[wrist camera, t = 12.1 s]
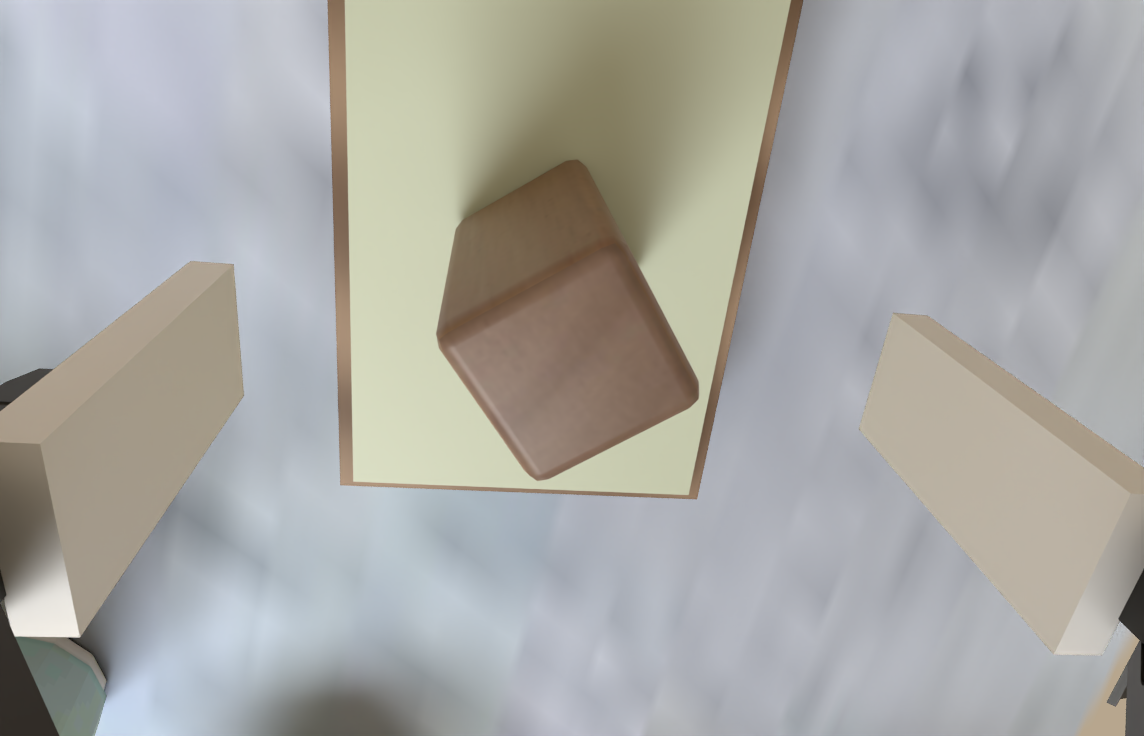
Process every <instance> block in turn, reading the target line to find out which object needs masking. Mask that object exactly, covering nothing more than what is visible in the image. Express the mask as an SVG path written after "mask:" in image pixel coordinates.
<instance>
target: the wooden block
mask: <svg viewBox="0 0 1144 736" xmlns="http://www.w3.org/2000/svg"><path fill="white" fill-rule="evenodd" d="M436 336H437V341H438V346H439V349H440V351H441V352H442V354H443V355H444V356H445V358H446V359H447V361H448V362H449V364H450V365H451V366H452V368H453V369H454V371H455V372H456V374H457V375H458V376H459V378H460V379H461V381H462V382H463V384H464V385H465V386H466V388H467V389H468V391H469V392H470V394H471V395H472V396H473V398H474V399H475V401H476V402H477V404H478V405H479V407H480V408H481V409H482V411H483V412H484V414H485V415H486V417H487V418H488V419H489V421H490V422H491V424H492V425H493V427H494V428H495V429H496V431H497V432H498V434H499V435H500V437H501V438H502V439H503V441H504V442H505V444H506V445H507V447H508V448H509V449H510V451H511V452H512V454H513V455H514V457H515V458H516V460H517V461H518V462H519V464H520V465H521V467H522V468H523V470H524V471H525V472H526V473H527V474H528V475H529V476H531V477H532V478H534V479H535V480H536V481H541V480H547V479H550V478H552V477H554V476H556V475H558V474H560V473H562V472H564V471H566V470H568V469H570V468H572V467H574V466H576V465H578V464H580V463H582V462H584V461H586V460H588V459H590V458H592V457H594V456H596V455H598V454H600V453H602V452H604V451H605V450H607V449H609V448H611V447H613V446H615V445H617V444H619V443H621V442H623V441H625V440H627V439H629V438H631V437H633V436H635V435H637V434H639V433H641V432H643V431H645V430H647V429H649V428H651V427H653V426H655V425H657V424H659V423H661V422H663V421H665V420H667V419H669V418H671V417H673V416H675V415H677V414H679V413H681V412H683V411H685V410H687V409H689V408H690V407H691V406H692V405H693V404H694V403H695V402H696V401H697V400H698V399H699V381H698V379H697V377H696V375H695V373H694V371H693V369H692V367H691V365H690V363H689V361H688V359H687V358H686V356H685V354H684V352H683V350H682V348H681V346H680V344H679V342H678V340H677V338H676V336H675V334H674V333H673V331H672V329H671V327H670V325H669V323H668V321H667V319H666V317H665V315H664V313H663V311H662V309H661V308H660V306H659V304H658V302H657V300H656V298H655V296H654V294H653V292H652V290H651V288H650V286H649V284H648V283H647V281H646V279H645V277H644V275H643V273H642V271H641V269H640V267H639V265H638V263H637V261H636V260H635V258H634V256H633V254H632V252H631V250H630V248H629V246H628V244H627V243H626V241H625V239H624V237H623V235H622V233H621V231H620V229H619V227H618V225H617V224H616V222H615V220H614V218H613V216H612V214H611V212H610V210H609V208H608V207H607V205H606V203H605V201H604V199H603V197H602V195H601V193H600V191H599V189H598V188H597V186H596V184H595V182H594V180H593V178H592V176H591V174H590V172H589V171H588V169H587V167H586V166H585V165H584V164H583V163H581V162H580V161H579V160H578V159H577V160H569V161H565V162H563V163H562V164H560V165H558V166H556V167H554V168H553V169H551V170H549V171H547V172H546V173H544V174H542V175H540V176H539V177H537V178H535V179H533V180H532V181H530V182H528V183H526V184H525V185H523V186H521V187H519V188H518V189H516V190H514V191H512V192H511V193H509V194H507V195H505V196H504V197H502V198H500V199H498V200H497V201H495V202H493V203H491V204H490V205H488V206H486V207H484V208H483V209H481V210H479V211H477V212H476V213H474V214H472V215H470V216H469V217H467V218H465V219H463V220H462V221H461V223H460V224H459V225H458V226H457V228H456V230H455V235H454V241H453V246H452V251H451V256H450V262H449V267H448V272H447V278H446V283H445V288H444V294H443V299H442V304H441V310H440V315H439V320H438V326H437V331H436Z"/></svg>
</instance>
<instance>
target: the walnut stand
mask: <svg viewBox="0 0 1144 736" xmlns="http://www.w3.org/2000/svg"><path fill="white" fill-rule="evenodd" d="M802 4H803V0H328V33H329V71H330V109H331V147H332V185H333V223H334V261H335V299H336V336H337V374H338V412H339V450H340V485H349V486H374V487H399V488H425V489H450V490H476V491H501V492H526V493H552V494H577V495H603V496H628V497H653V498H679V499H697V497H698V492H699V487H700V483H701V478H702V473H703V469H704V464H705V459H706V454H707V450H708V445H709V440H710V436H711V431H712V426H713V422H714V417H715V412H716V408H717V403H718V398H719V393H720V389H721V384H722V379H723V375H724V370H725V365H726V361H727V356H728V351H729V347H730V342H731V337H732V333H733V328H734V323H735V318H736V314H737V309H738V304H739V300H740V295H741V290H742V286H743V281H744V276H745V272H746V267H747V262H748V257H749V253H750V248H751V243H752V239H753V234H754V229H755V225H756V220H757V215H758V211H759V206H760V201H761V196H762V192H763V187H764V182H765V178H766V173H767V168H768V164H769V159H770V154H771V150H772V145H773V140H774V135H775V131H776V126H777V121H778V117H779V112H780V107H781V103H782V98H783V93H784V89H785V84H786V79H787V74H788V70H789V65H790V60H791V56H792V51H793V46H794V42H795V37H796V32H797V28H798V23H799V18H800V13H801V9H802ZM577 159H578V160H579V161H580V162H581V163H583V164H584V165H585V166H586V167H587V169H588V171H589V172H590V174H591V176H592V178H593V180H594V182H595V184H596V186H597V188H598V189H599V191H600V193H601V195H602V197H603V199H604V201H605V203H606V205H607V207H608V208H609V210H610V212H611V214H612V216H613V218H614V220H615V222H616V224H617V225H618V227H619V229H620V231H621V233H622V235H623V237H624V239H625V241H626V243H627V244H628V246H629V248H630V250H631V252H632V254H633V256H634V258H635V260H636V261H637V263H638V265H639V267H640V269H641V271H642V273H643V275H644V277H645V279H646V281H647V283H648V284H649V286H650V288H651V290H652V292H653V294H654V296H655V298H656V300H657V302H658V304H659V306H660V308H661V309H662V311H663V313H664V315H665V317H666V319H667V321H668V323H669V325H670V327H671V329H672V331H673V333H674V334H675V336H676V338H677V340H678V342H679V344H680V346H681V348H682V350H683V352H684V354H685V356H686V358H687V359H688V361H689V363H690V365H691V367H692V369H693V371H694V373H695V375H696V377H697V379H698V381H699V399H698V400H697V401H696V402H695V403H694V404H693V405H692V406H691V407H690V408H689V409H687V410H685V411H683V412H681V413H679V414H677V415H675V416H673V417H671V418H669V419H667V420H665V421H663V422H661V423H659V424H657V425H655V426H653V427H651V428H649V429H647V430H645V431H643V432H641V433H639V434H637V435H635V436H633V437H631V438H629V439H627V440H625V441H623V442H621V443H619V444H617V445H615V446H613V447H611V448H609V449H607V450H605V451H604V452H602V453H600V454H598V455H596V456H594V457H592V458H590V459H588V460H586V461H584V462H582V463H580V464H578V465H576V466H574V467H572V468H570V469H568V470H566V471H564V472H562V473H560V474H558V475H556V476H554V477H552V478H550V479H547V480H541V481H536V480H535V479H534V478H532V477H531V476H529V475H528V474H527V473H526V472H525V471H524V470H523V468H522V467H521V465H520V464H519V462H518V461H517V460H516V458H515V457H514V455H513V454H512V452H511V451H510V449H509V448H508V447H507V445H506V444H505V442H504V441H503V439H502V438H501V437H500V435H499V434H498V432H497V431H496V429H495V428H494V427H493V425H492V424H491V422H490V421H489V419H488V418H487V417H486V415H485V414H484V412H483V411H482V409H481V408H480V407H479V405H478V404H477V402H476V401H475V399H474V398H473V396H472V395H471V394H470V392H469V391H468V389H467V388H466V386H465V385H464V384H463V382H462V381H461V379H460V378H459V376H458V375H457V374H456V372H455V371H454V369H453V368H452V366H451V365H450V364H449V362H448V361H447V359H446V358H445V356H444V355H443V354H442V352H441V351H440V349H439V346H438V341H437V336H436V331H437V326H438V320H439V315H440V310H441V304H442V299H443V294H444V288H445V283H446V278H447V272H448V267H449V262H450V256H451V251H452V246H453V241H454V235H455V230H456V228H457V226H458V225H459V224H460V223H461V221H462V220H463V219H465V218H467V217H469V216H470V215H472V214H474V213H476V212H477V211H479V210H481V209H483V208H484V207H486V206H488V205H490V204H491V203H493V202H495V201H497V200H498V199H500V198H502V197H504V196H505V195H507V194H509V193H511V192H512V191H514V190H516V189H518V188H519V187H521V186H523V185H525V184H526V183H528V182H530V181H532V180H533V179H535V178H537V177H539V176H540V175H542V174H544V173H546V172H547V171H549V170H551V169H553V168H554V167H556V166H558V165H560V164H562V163H563V162H565V161H569V160H577Z"/></svg>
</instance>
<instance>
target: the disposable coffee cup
mask: <svg viewBox="0 0 1144 736" xmlns="http://www.w3.org/2000/svg"><path fill="white" fill-rule="evenodd" d="M10 627H11V626H10ZM15 638H16V640H17V642H18V645H19V647H20V649H21V651H22V654H23V656H24V658H25V660H26V662H27V665H28V667H29V669H30V671H31V674H32V676H33V678H34V680H35V682H36V685H37V687H38V689H39V691H40V694H41V696H42V698H43V700H44V702H45V705H46V707H47V709H48V711H49V714H50V716H51V718H52V720H53V722H54V725H55V727H56V729H57V731H58V734H59V736H95V733H96V730H97V727H98V724H99V721H100V717H101V714H102V710H103V707H104V703H105V699H106V694H105V692H104V688H105V684H106V681H107V680H106V679H105V677H104V675H103V673H102V671H101V669H100V667H99V666H98V664H97V662H96V660H95V658H94V656H93V655H92V654H91V653H89V652H88V651H86V650H85V649H83V648H82V647H80V646H79V645H77V644H75V643H74V642H72V641H71V640H69V639H68V638H66V637H23V636H15Z"/></svg>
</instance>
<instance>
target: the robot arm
mask: <svg viewBox="0 0 1144 736" xmlns="http://www.w3.org/2000/svg"><path fill="white" fill-rule="evenodd" d="M243 396H244V391H243V378H242V366H241V353H240V340H239V327H238V315H237V302H236V289H235V276H234V264H223V263H210V262H196V261H190V262H189V263H188V264H186V265H185V266H184V267H182V268H181V269H180V270H179V271H177V272H176V273H175V274H174V275H172V276H171V277H170V278H169V279H167V280H166V281H165V282H163V283H162V284H161V285H160V286H158V287H157V288H156V289H155V290H153V291H152V292H151V293H150V294H148V295H147V296H146V297H144V298H143V299H142V300H141V301H139V302H138V303H137V304H136V305H134V306H133V307H132V308H131V309H129V310H128V311H127V312H125V313H124V314H123V315H122V316H120V317H119V318H118V319H117V320H115V321H114V322H113V323H112V324H110V325H109V326H108V327H107V328H105V329H104V330H103V331H101V332H100V333H99V334H98V335H96V336H95V337H94V338H93V339H91V340H90V341H89V342H88V343H86V344H85V345H84V346H82V347H81V348H80V349H79V350H77V351H76V352H75V353H74V354H72V355H71V356H70V357H69V358H67V359H66V360H65V361H63V362H62V363H61V364H60V365H58V366H57V367H56V368H55V369H37V370H35V371H32V372H30V373H27V374H25V375H22V376H20V377H17V378H15V379H12V380H10V381H7V382H5V383H3V384H2V385H1V386H0V602H1V601H2V600H3V599H4V602H5V606H6V610H7V614H8V618H9V622H10V625H9V622H8V620H7V618H6V616H5V613H4V611H3V609H2V607H1V605H0V736H59V734H58V731H57V729H56V727H55V725H54V722H53V720H52V718H51V716H50V714H49V711H48V709H47V707H46V705H45V702H44V700H43V698H42V696H41V694H40V691H39V689H38V687H37V685H36V682H35V680H34V678H33V676H32V674H31V671H30V669H29V667H28V665H27V662H26V660H25V658H24V656H23V654H22V651H21V649H20V647H19V645H18V642H17V640H16V638H15V636H23V637H81V635H82V634H83V632H84V631H85V629H86V628H87V626H88V625H89V624H90V622H91V621H92V619H93V618H94V616H95V615H96V613H97V612H98V610H99V609H100V607H101V606H102V604H103V603H104V601H105V600H106V598H107V597H108V595H109V594H110V593H111V591H112V590H113V588H114V587H115V585H116V584H117V582H118V581H119V579H120V578H121V576H122V575H123V573H124V572H125V570H126V569H127V567H128V566H129V564H130V563H131V562H132V560H133V559H134V557H135V556H136V554H137V553H138V551H139V550H140V548H141V547H142V545H143V544H144V542H145V541H146V539H147V538H148V536H149V535H150V533H151V532H152V531H153V529H154V528H155V526H156V525H157V523H158V522H159V520H160V519H161V517H162V516H163V514H164V513H165V511H166V510H167V508H168V507H169V505H170V504H171V502H172V501H173V500H174V498H175V497H176V495H177V494H178V492H179V491H180V489H181V488H182V486H183V485H184V483H185V482H186V480H187V479H188V477H189V476H190V474H191V473H192V471H193V470H194V469H195V467H196V466H197V464H198V463H199V461H200V460H201V458H202V457H203V455H204V454H205V452H206V451H207V449H208V448H209V446H210V445H211V443H212V442H213V440H214V439H215V438H216V436H217V435H218V433H219V432H220V430H221V429H222V427H223V426H224V424H225V423H226V421H227V420H228V418H229V417H230V415H231V414H232V412H233V411H234V409H235V408H236V407H237V405H238V404H239V402H240V401H241V399H242V398H243ZM859 430H860V431H861V432H862V433H863V435H864V436H865V437H866V438H867V439H868V440H869V442H870V443H871V444H872V445H873V446H874V447H875V448H876V450H877V451H878V452H879V453H880V454H881V455H882V457H883V458H884V459H885V460H886V461H887V462H888V463H889V465H890V466H891V467H892V468H893V469H894V470H895V472H896V473H897V474H898V475H899V476H900V477H901V479H902V480H903V481H904V482H905V483H906V484H907V485H908V487H909V488H910V489H911V490H912V491H913V492H914V494H915V495H916V496H917V497H918V498H919V499H920V500H921V502H922V503H923V504H924V505H925V506H926V507H927V509H928V510H929V511H930V512H931V513H932V514H933V516H934V517H935V518H936V519H937V520H938V521H939V522H940V524H941V525H942V526H943V527H944V528H945V529H946V531H947V532H948V533H949V534H950V535H951V536H952V537H953V539H954V540H955V541H956V542H957V543H958V544H959V546H960V547H961V548H962V549H963V550H964V551H965V553H966V554H967V555H968V556H969V557H970V558H971V559H972V561H973V562H974V563H975V564H976V565H977V566H978V568H979V569H980V570H981V571H982V572H983V573H984V575H985V576H986V577H987V578H988V579H989V580H990V581H991V583H992V584H993V585H994V586H995V587H996V588H997V590H998V591H999V592H1000V593H1001V594H1002V595H1003V596H1004V598H1005V599H1006V600H1007V601H1008V602H1009V603H1010V605H1011V606H1012V607H1013V608H1014V609H1015V610H1016V612H1017V613H1018V614H1019V615H1020V616H1021V617H1022V618H1023V620H1024V621H1025V622H1026V623H1027V624H1028V625H1029V627H1030V628H1031V629H1032V630H1033V631H1034V632H1035V633H1036V635H1037V636H1038V637H1039V638H1040V639H1041V640H1042V642H1043V643H1044V644H1045V645H1046V646H1047V647H1048V649H1049V650H1050V651H1051V652H1052V653H1053V654H1054V655H1101V656H1102V655H1103V653H1104V651H1105V649H1106V647H1107V645H1108V643H1109V641H1110V639H1111V637H1112V635H1113V633H1114V631H1115V630H1116V628H1117V626H1118V624H1119V622H1120V621H1121V622H1122V623H1123V624H1124V625H1125V626H1126V627H1127V628H1128V629H1129V630H1130V631H1131V632H1132V633H1133V634H1134V635H1135V636H1136V637H1137V638H1138V639H1139V640H1140V641H1139V643H1138V645H1137V646H1136V648H1135V650H1134V652H1133V654H1132V656H1131V658H1130V660H1129V661H1128V663H1127V665H1126V667H1125V669H1124V671H1123V673H1122V675H1121V676H1120V678H1119V680H1118V682H1117V684H1116V686H1115V687H1114V689H1113V691H1112V693H1111V695H1110V697H1109V699H1108V701H1107V703H1109V704H1111V705H1113V706H1116V705H1117V703H1118V702H1119V700H1120V699H1123V698H1127V701H1126V731H1125V732H1126V733H1125V734H1126V735H1125V736H1144V468H1143V467H1142V466H1140V465H1139V464H1138V463H1136V462H1135V461H1133V460H1132V459H1131V458H1129V457H1128V456H1126V455H1125V454H1123V453H1122V452H1121V451H1119V450H1118V449H1116V448H1115V447H1113V446H1112V445H1111V444H1109V443H1108V442H1106V441H1105V440H1104V439H1102V438H1101V437H1099V436H1098V435H1096V434H1095V433H1094V432H1092V431H1091V430H1089V429H1088V428H1086V427H1085V426H1084V425H1082V424H1081V423H1079V422H1078V421H1077V420H1075V419H1074V418H1072V417H1071V416H1069V415H1068V414H1067V413H1065V412H1064V411H1062V410H1061V409H1059V408H1058V407H1057V406H1055V405H1054V404H1052V403H1051V402H1050V401H1048V400H1047V399H1045V398H1044V397H1042V396H1041V395H1040V394H1038V393H1037V392H1035V391H1034V390H1032V389H1031V388H1030V387H1028V386H1027V385H1025V384H1024V383H1023V382H1021V381H1020V380H1018V379H1017V378H1015V377H1014V376H1013V375H1011V374H1010V373H1008V372H1007V371H1005V370H1004V369H1003V368H1001V367H1000V366H998V365H997V364H996V363H994V362H993V361H991V360H990V359H988V358H987V357H986V356H984V355H983V354H981V353H980V352H979V351H977V350H976V349H974V348H973V347H971V346H970V345H969V344H967V343H966V342H964V341H963V340H961V339H960V338H959V337H957V336H956V335H954V334H953V333H952V332H950V331H949V330H947V329H946V328H944V327H943V326H942V325H940V324H939V323H937V322H936V321H934V320H933V319H932V318H930V317H929V316H926V315H913V314H899V313H893V315H892V318H891V322H890V325H889V328H888V332H887V335H886V338H885V342H884V345H883V349H882V352H881V355H880V359H879V362H878V366H877V369H876V372H875V376H874V379H873V383H872V386H871V389H870V393H869V396H868V399H867V403H866V406H865V410H864V413H863V416H862V420H861V423H860V427H859ZM10 626H11V627H10Z"/></svg>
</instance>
